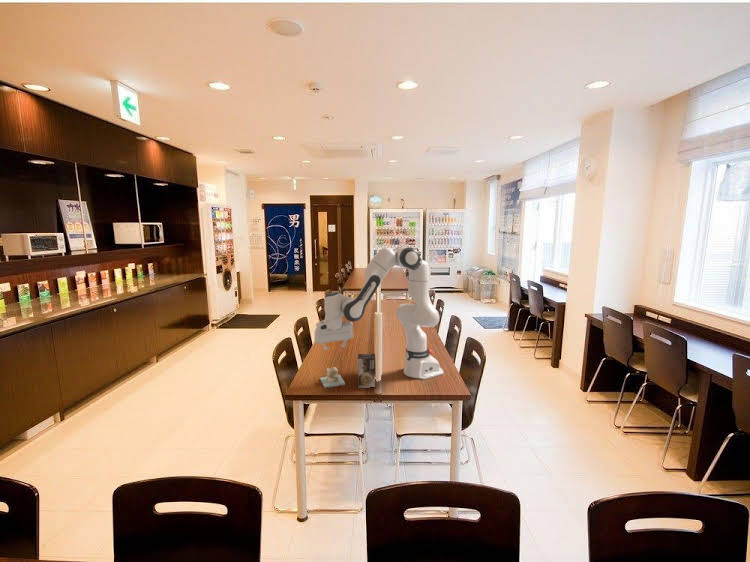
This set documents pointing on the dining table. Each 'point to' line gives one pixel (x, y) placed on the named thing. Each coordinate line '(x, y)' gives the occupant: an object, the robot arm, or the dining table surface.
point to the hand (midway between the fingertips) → (334, 348)
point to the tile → (332, 384)
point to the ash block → (332, 374)
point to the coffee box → (366, 370)
